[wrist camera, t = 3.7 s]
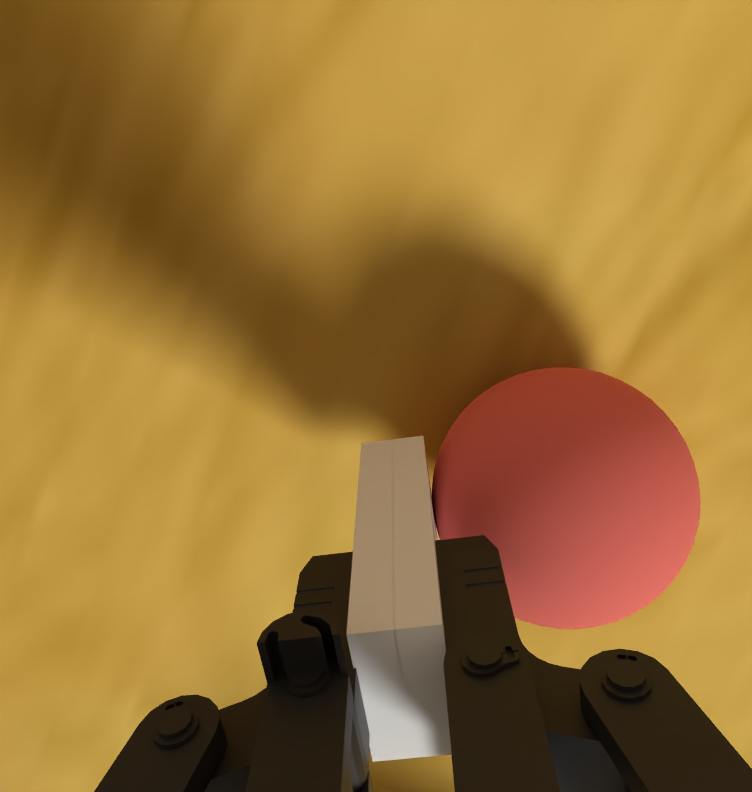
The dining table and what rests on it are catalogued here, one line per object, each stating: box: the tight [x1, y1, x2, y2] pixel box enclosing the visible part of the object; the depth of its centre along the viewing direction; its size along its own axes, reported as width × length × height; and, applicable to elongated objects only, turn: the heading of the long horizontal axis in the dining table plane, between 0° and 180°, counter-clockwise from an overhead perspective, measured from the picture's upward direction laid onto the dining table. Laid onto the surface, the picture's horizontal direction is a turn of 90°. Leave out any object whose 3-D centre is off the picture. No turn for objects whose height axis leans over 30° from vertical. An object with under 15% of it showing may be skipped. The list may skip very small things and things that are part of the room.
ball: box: [432, 367, 700, 629], centre depth 17 cm, size 6×6×6 cm
